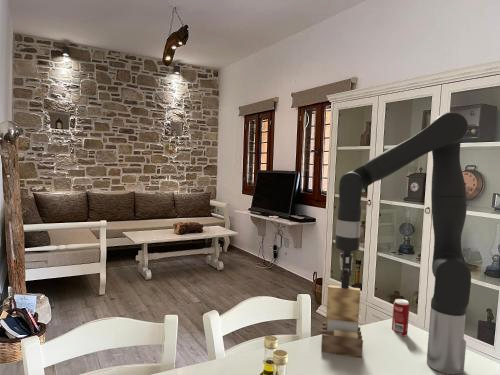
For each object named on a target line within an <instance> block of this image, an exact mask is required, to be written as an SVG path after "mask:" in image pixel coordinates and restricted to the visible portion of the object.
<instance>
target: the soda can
mask: <svg viewBox="0 0 500 375" xmlns="http://www.w3.org/2000/svg"><path fill="white" fill-rule="evenodd" d="M392 308H393V309H392V323H391V330H392V331H393V332H396V333H398V334H401V336H402V338H405V337H407V336H408V330H409V329H408V328H409V320H410V319H409V318H410V317H409V316H410V304H409V301H408V300H406V299H402V298H395V299H394V302H393V307H392Z"/></svg>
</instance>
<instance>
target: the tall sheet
mask: <svg viewBox="0 0 500 375" xmlns="http://www.w3.org/2000/svg"><path fill="white" fill-rule="evenodd" d="M326 297H327V299H326V315H325V323H326V327H327V326H328V319H333V320H341V321H349V322H356V323H357V331H358V327H359V321H360V320H359V318H360V302H361V301H360V300H361V288H359V287H351V286H349V288H348V289H344V288H342V287H341V285H340V286H339V285H330V284H328V285H327V296H326Z"/></svg>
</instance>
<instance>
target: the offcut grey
mask: <svg viewBox="0 0 500 375" xmlns="http://www.w3.org/2000/svg"><path fill="white" fill-rule="evenodd" d="M334 330H340V331H348V332H355V333H357V323H356V322H349V321H341V320H333V319H328V326H327V331H333V332H334Z"/></svg>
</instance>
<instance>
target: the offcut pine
mask: <svg viewBox="0 0 500 375" xmlns="http://www.w3.org/2000/svg"><path fill="white" fill-rule="evenodd" d="M334 336H340V337H347V338H354V339H358V334H357V333H355V332H348V331H340V330H334Z"/></svg>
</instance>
